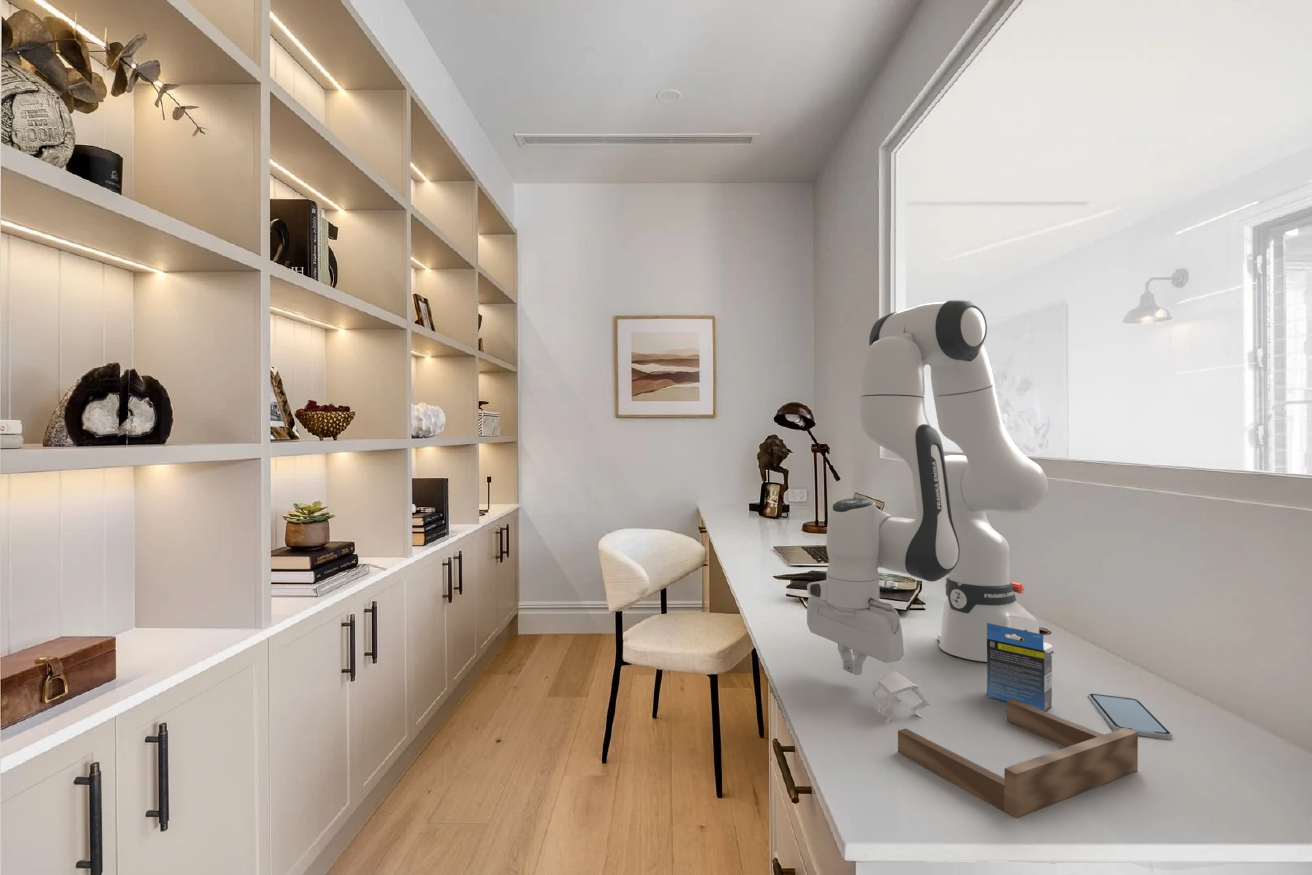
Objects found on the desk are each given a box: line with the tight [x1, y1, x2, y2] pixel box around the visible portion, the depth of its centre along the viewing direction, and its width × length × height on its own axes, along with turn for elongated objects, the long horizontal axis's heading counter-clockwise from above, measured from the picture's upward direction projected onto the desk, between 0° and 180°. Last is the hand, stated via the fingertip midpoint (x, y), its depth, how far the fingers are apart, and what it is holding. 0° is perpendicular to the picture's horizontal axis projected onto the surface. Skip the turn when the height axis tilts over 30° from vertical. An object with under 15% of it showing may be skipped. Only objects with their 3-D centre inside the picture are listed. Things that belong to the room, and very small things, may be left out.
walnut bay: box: [897, 700, 1139, 819], centre depth 90 cm, size 24×18×5 cm
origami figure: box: [871, 670, 932, 724], centre depth 106 cm, size 12×8×5 cm
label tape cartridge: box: [986, 623, 1053, 712], centre depth 110 cm, size 9×4×12 cm, turn 42°
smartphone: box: [1087, 693, 1173, 740], centre depth 104 cm, size 7×1×15 cm
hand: (852, 672), depth 117 cm, fingers closed
